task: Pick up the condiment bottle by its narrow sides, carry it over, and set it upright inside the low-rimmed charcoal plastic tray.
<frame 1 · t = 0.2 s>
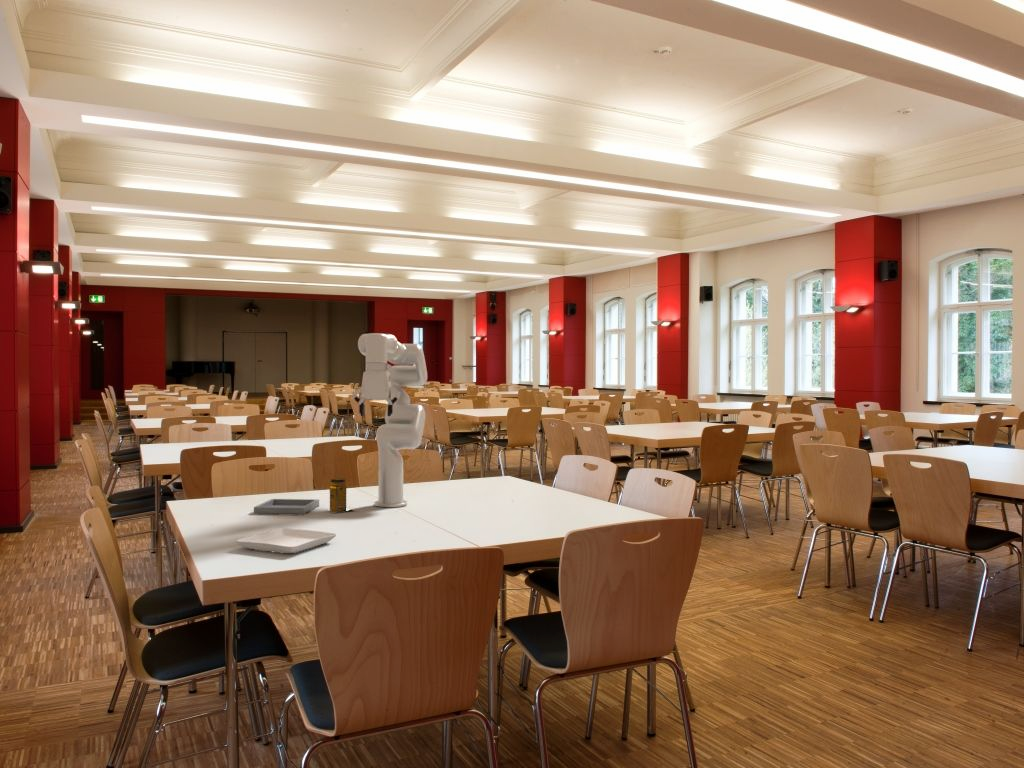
hand: (376, 415, 275), 36 cm above the table, tool pointing down, fingers open, 9 cm apart
tray: (287, 509, 287), on the table
condiment: (340, 511, 286), on the table
salad plate: (287, 548, 228), on the table
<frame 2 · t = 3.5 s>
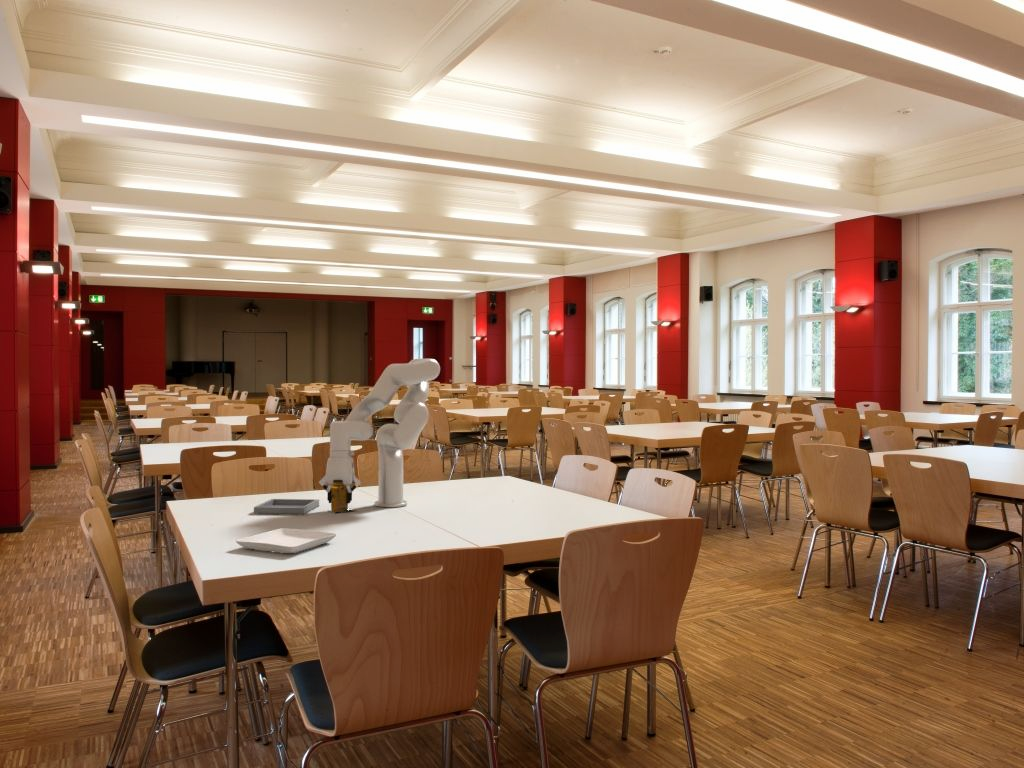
hand: (339, 502, 286), 3 cm above the table, tool pointing down, fingers closed on condiment, 6 cm apart
condiment: (341, 511, 286), on the table, touching gripper
everything else where it was.
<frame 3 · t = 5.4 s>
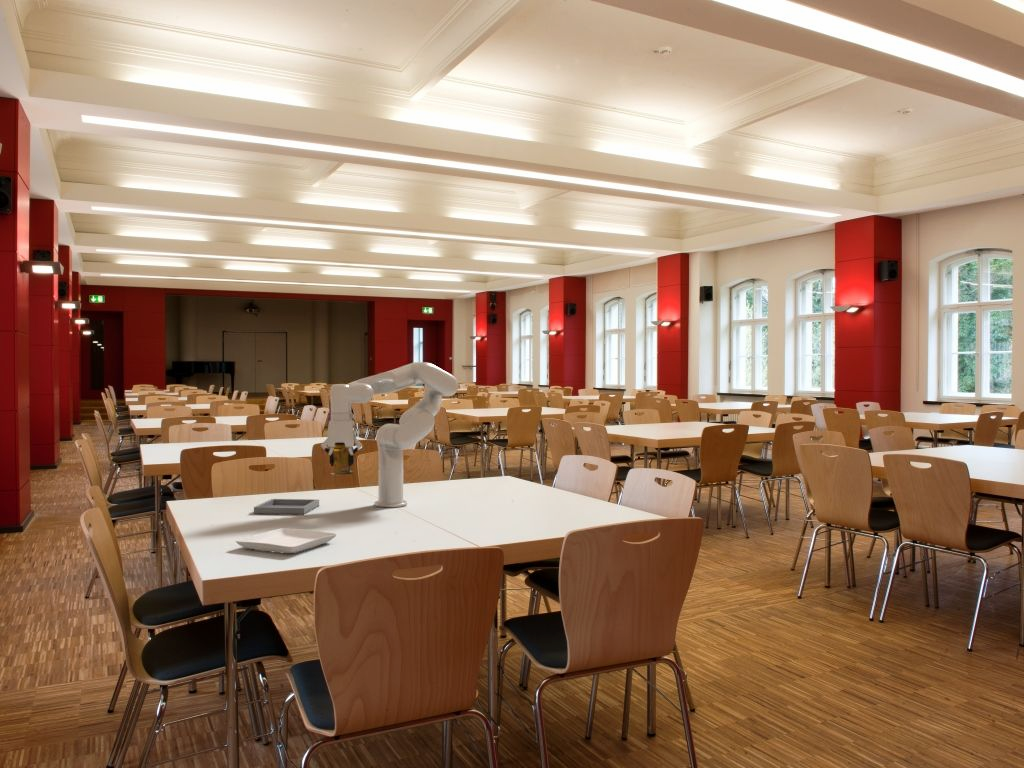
hand: (342, 465, 286), 17 cm above the table, tool pointing down, fingers closed on condiment, 6 cm apart
condiment: (344, 474, 286), point 14 cm above the table, touching gripper
everything else where it was.
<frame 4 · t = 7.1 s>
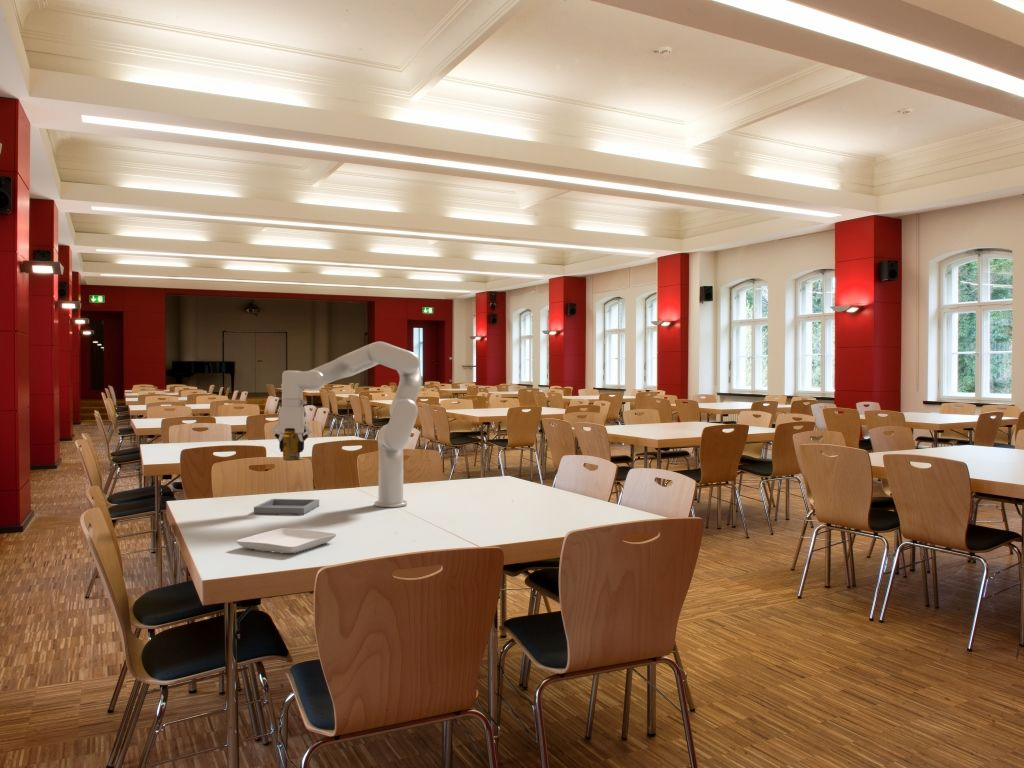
hand: (291, 451, 286), 22 cm above the table, tool pointing down, fingers closed on condiment, 6 cm apart
condiment: (293, 460, 286), point 19 cm above the table, touching gripper
everything else where it was.
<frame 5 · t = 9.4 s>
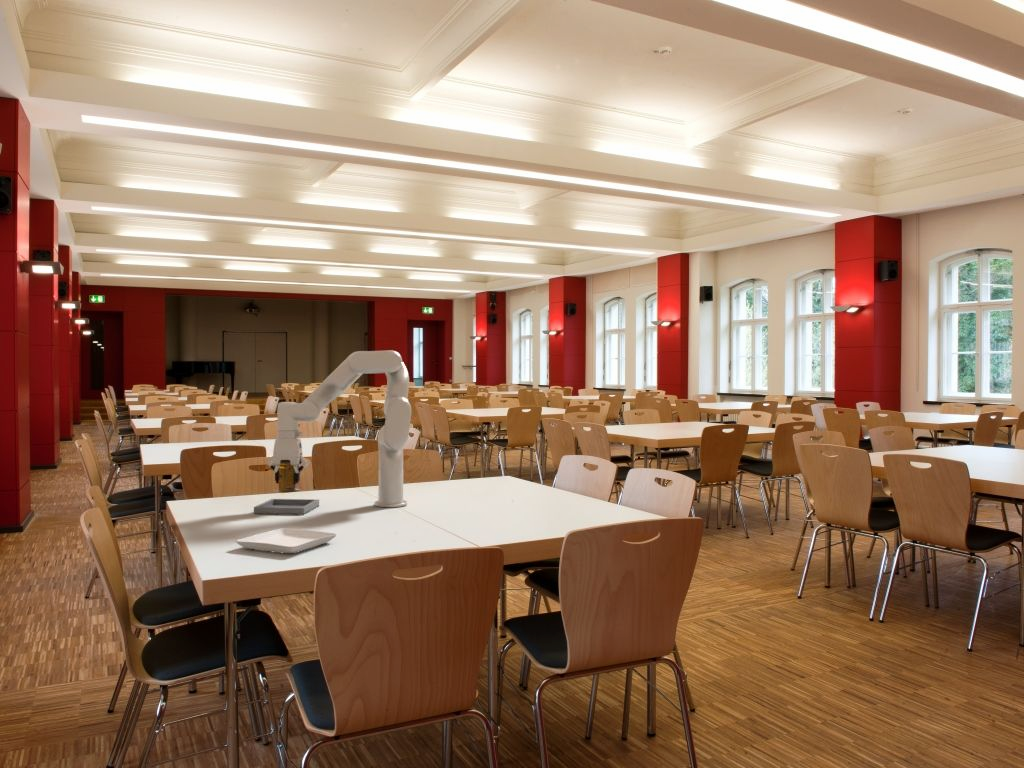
hand: (287, 482, 287), 10 cm above the table, tool pointing down, fingers closed on condiment, 6 cm apart
condiment: (289, 491, 287), point 7 cm above the table, touching gripper
everything else where it was.
when the fingers open (5 cm above the table, at t = 10.9 s): condiment drops 1 cm, resting on tray.
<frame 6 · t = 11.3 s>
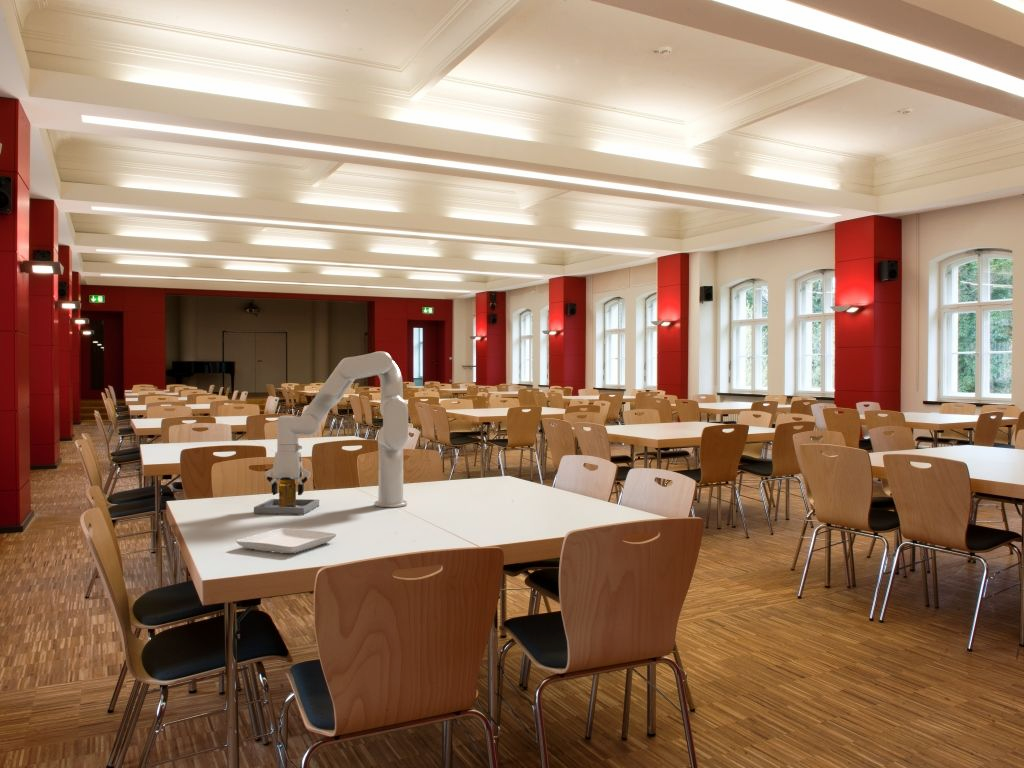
hand: (287, 494, 287), 6 cm above the table, tool pointing down, fingers open, 9 cm apart
condiment: (289, 509, 287), resting on tray
everything else where it was.
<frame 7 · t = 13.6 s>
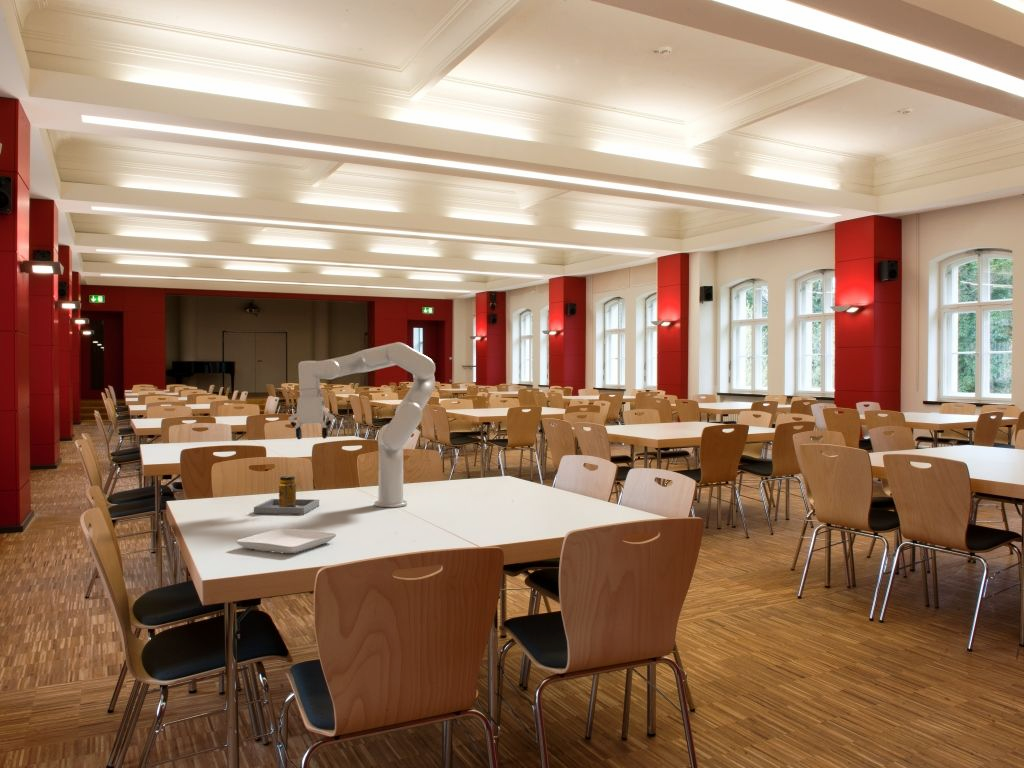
hand: (312, 438, 291), 26 cm above the table, tool pointing down, fingers open, 9 cm apart
nothing on the table moved.
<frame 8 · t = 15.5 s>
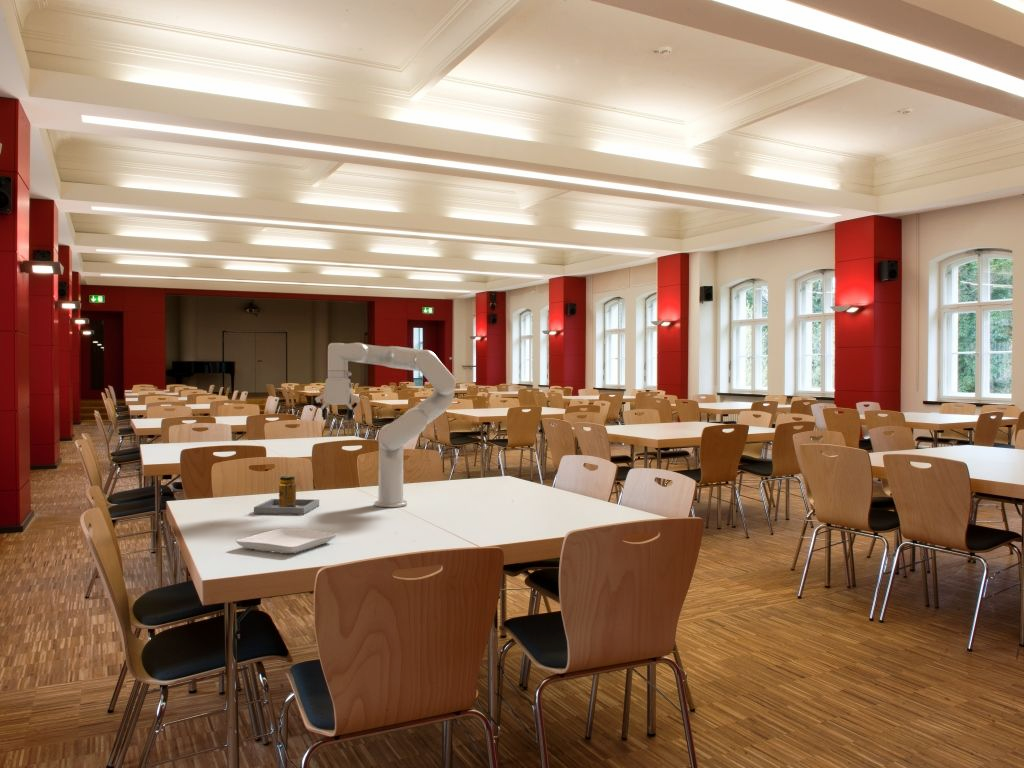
hand: (337, 419, 295), 33 cm above the table, tool pointing down, fingers open, 9 cm apart
nothing on the table moved.
at the end: condiment inside the target area on the tray (0.9 cm from its centre), point 0.3 cm above the tray's base; condiment tilted 0°; the gripper is holding nothing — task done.
